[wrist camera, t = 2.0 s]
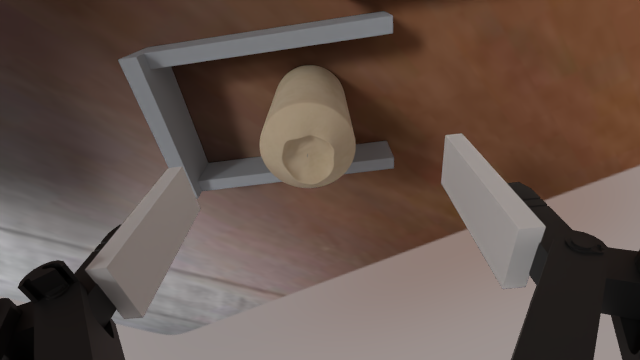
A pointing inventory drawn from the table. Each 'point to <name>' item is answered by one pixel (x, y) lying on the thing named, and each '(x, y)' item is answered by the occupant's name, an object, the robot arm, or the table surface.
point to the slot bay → (161, 85)
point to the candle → (308, 129)
